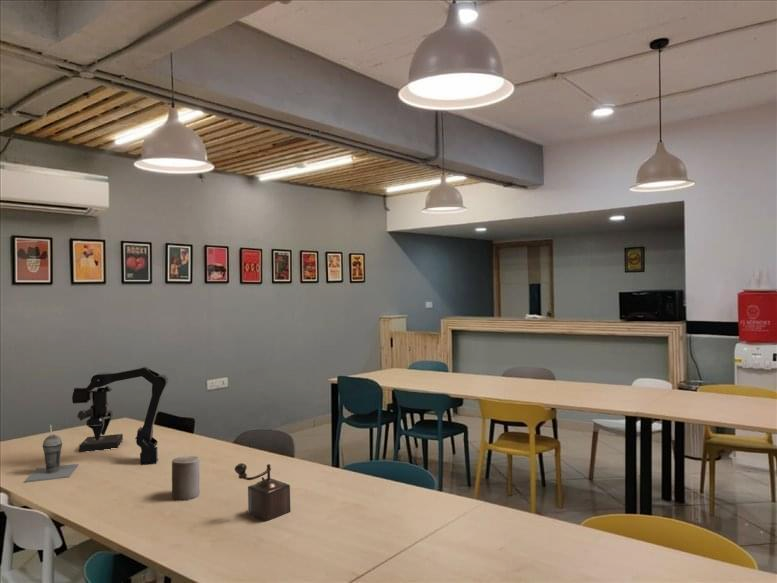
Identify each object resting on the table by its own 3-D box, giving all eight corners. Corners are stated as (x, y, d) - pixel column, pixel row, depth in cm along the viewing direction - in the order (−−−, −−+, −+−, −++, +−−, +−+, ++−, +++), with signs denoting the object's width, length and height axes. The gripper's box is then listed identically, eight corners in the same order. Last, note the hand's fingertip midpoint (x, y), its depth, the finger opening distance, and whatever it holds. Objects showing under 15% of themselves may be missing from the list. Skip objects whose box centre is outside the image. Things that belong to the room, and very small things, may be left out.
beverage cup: (48, 475, 226) (48, 427, 226) (39, 473, 230) (38, 426, 230) (66, 470, 232) (65, 423, 233) (56, 468, 236) (55, 422, 236)
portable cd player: (86, 444, 278) (86, 437, 278) (122, 441, 284) (122, 433, 284) (78, 453, 263) (78, 445, 263) (117, 449, 268) (117, 441, 268)
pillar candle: (170, 502, 194) (170, 460, 194) (173, 492, 204) (173, 453, 204) (199, 499, 197) (198, 458, 197) (200, 490, 206) (200, 450, 206)
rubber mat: (78, 465, 242) (78, 463, 242) (69, 477, 225) (69, 475, 225) (37, 469, 237) (37, 468, 237) (24, 482, 220) (24, 481, 220)
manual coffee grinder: (271, 504, 190) (270, 453, 191) (291, 512, 183) (290, 458, 183) (233, 518, 179) (232, 464, 179) (252, 527, 171) (251, 470, 172)
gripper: (85, 399, 246) (86, 433, 246) (72, 407, 228) (73, 444, 228) (112, 397, 249) (113, 431, 249) (101, 405, 231) (102, 442, 230)
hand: (100, 437), depth 239 cm, fingers open, 9 cm apart
